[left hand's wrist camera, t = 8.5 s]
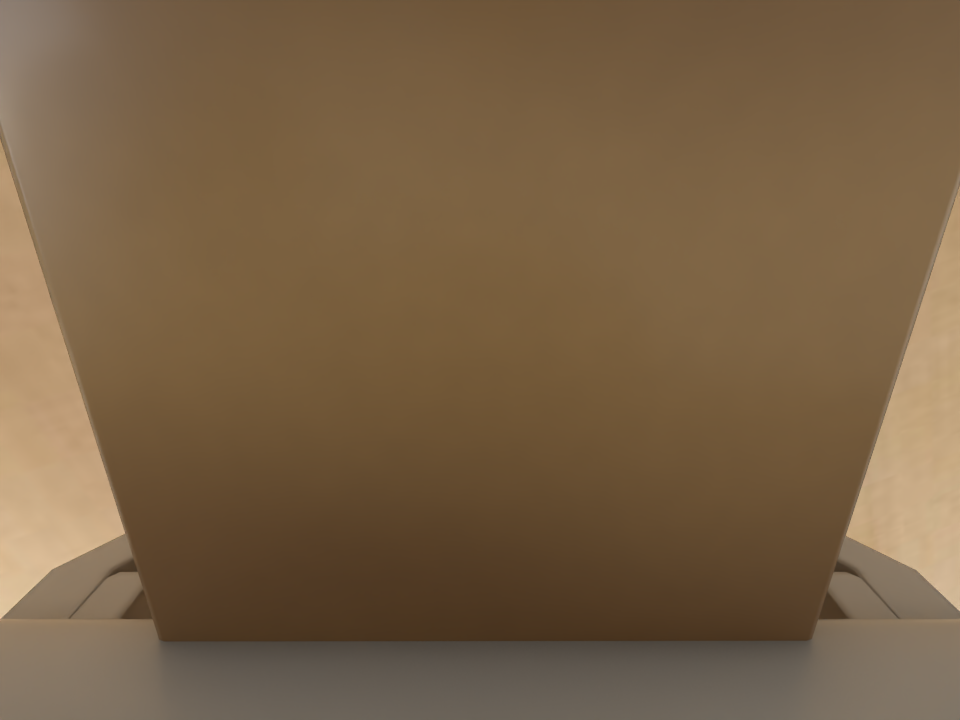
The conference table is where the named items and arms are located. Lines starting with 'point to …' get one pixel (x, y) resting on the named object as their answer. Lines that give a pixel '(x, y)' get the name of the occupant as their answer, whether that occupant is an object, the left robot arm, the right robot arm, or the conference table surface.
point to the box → (484, 298)
